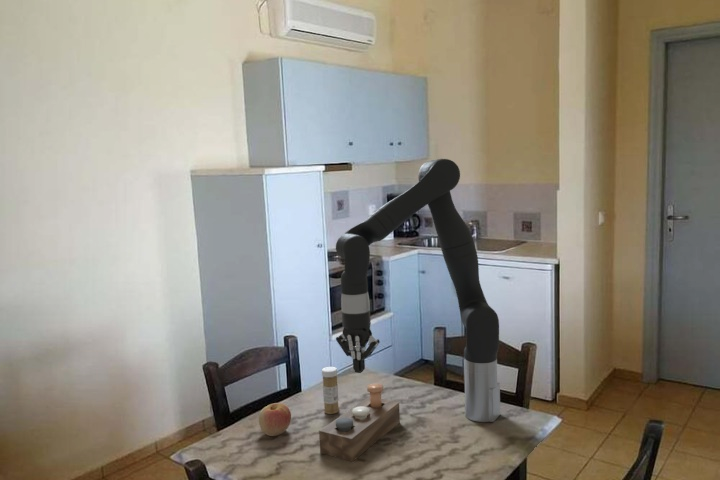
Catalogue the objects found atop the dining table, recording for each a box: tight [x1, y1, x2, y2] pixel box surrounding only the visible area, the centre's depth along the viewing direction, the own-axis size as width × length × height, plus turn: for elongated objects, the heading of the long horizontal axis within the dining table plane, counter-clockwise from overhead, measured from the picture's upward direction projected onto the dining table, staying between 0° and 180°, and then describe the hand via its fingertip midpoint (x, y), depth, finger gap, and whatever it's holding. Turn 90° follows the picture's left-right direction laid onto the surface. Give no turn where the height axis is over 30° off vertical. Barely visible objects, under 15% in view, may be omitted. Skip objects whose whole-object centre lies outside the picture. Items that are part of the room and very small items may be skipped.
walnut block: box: [318, 395, 401, 462], centre depth 162 cm, size 10×25×6 cm, turn 148°
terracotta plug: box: [366, 382, 384, 409], centre depth 168 cm, size 5×5×7 cm
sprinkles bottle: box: [321, 366, 340, 415], centre depth 179 cm, size 5×5×13 cm
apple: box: [258, 402, 292, 437], centre depth 166 cm, size 9×9×8 cm
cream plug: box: [352, 406, 369, 420], centre depth 162 cm, size 5×5×7 cm
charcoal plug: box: [336, 418, 353, 432], centre depth 155 cm, size 5×5×7 cm
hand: (359, 371), depth 160 cm, fingers closed
